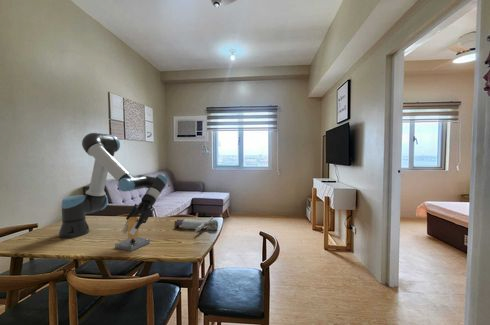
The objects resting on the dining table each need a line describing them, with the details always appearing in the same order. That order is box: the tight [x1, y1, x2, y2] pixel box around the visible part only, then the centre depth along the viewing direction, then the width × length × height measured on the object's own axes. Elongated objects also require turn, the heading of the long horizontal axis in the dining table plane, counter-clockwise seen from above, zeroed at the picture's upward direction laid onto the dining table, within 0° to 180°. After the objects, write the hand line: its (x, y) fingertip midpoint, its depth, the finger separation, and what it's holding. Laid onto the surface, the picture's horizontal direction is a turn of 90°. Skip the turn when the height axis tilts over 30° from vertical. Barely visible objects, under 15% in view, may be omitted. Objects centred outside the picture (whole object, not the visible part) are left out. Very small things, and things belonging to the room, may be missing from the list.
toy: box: [173, 216, 219, 233], centre depth 150 cm, size 30×7×30 cm
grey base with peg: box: [114, 237, 151, 252], centre depth 122 cm, size 12×12×9 cm
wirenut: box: [126, 216, 140, 239], centre depth 122 cm, size 5×5×11 cm
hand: (127, 233), depth 118 cm, fingers closed on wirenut, 5 cm apart
